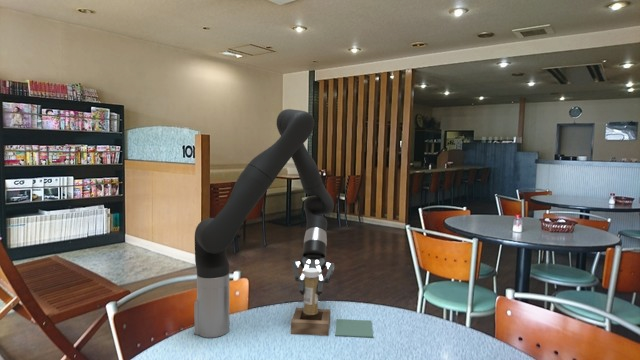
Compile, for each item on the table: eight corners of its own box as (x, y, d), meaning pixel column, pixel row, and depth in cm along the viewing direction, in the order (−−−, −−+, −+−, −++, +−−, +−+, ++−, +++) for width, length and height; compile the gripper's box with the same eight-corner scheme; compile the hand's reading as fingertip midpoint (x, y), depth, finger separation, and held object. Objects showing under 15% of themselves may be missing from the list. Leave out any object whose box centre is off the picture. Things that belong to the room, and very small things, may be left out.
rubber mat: (335, 336, 113) (335, 334, 113) (336, 320, 124) (336, 319, 124) (373, 337, 113) (373, 336, 113) (371, 321, 124) (371, 320, 124)
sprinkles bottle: (320, 313, 119) (322, 270, 118) (308, 317, 116) (309, 272, 115) (312, 308, 123) (313, 266, 122) (300, 311, 120) (301, 268, 119)
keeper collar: (290, 333, 114) (290, 322, 114) (296, 318, 125) (296, 307, 125) (328, 335, 114) (328, 324, 113) (330, 319, 125) (330, 309, 124)
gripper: (292, 237, 126) (285, 287, 115) (336, 239, 125) (334, 289, 114) (294, 250, 132) (288, 298, 120) (336, 251, 131) (334, 300, 119)
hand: (310, 293), depth 117 cm, fingers closed on sprinkles bottle, 4 cm apart
